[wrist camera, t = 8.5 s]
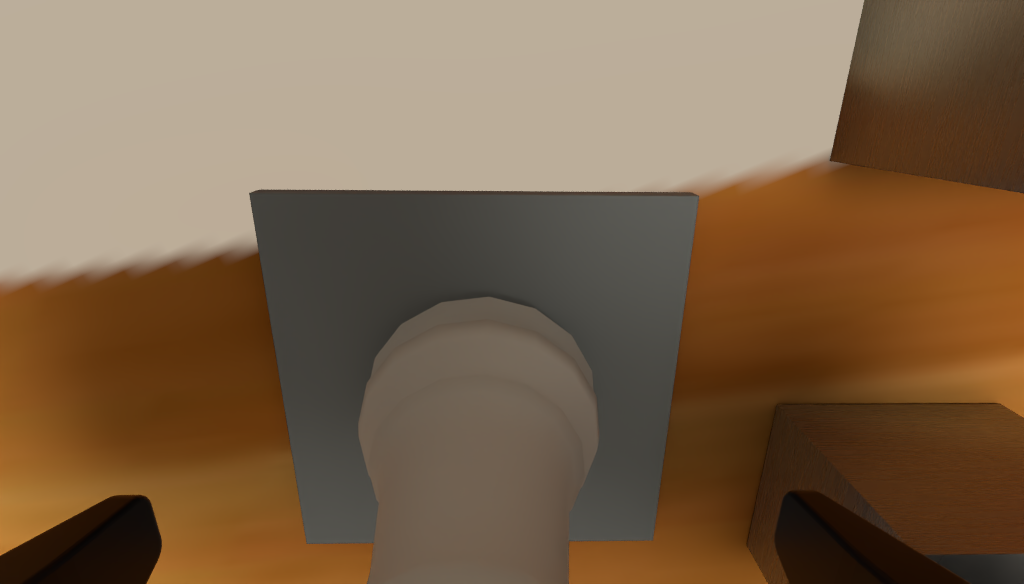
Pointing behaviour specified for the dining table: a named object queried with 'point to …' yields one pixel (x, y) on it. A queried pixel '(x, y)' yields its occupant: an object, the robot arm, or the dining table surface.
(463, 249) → the mat
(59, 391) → the dining table surface
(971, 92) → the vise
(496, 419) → the rook chess piece
